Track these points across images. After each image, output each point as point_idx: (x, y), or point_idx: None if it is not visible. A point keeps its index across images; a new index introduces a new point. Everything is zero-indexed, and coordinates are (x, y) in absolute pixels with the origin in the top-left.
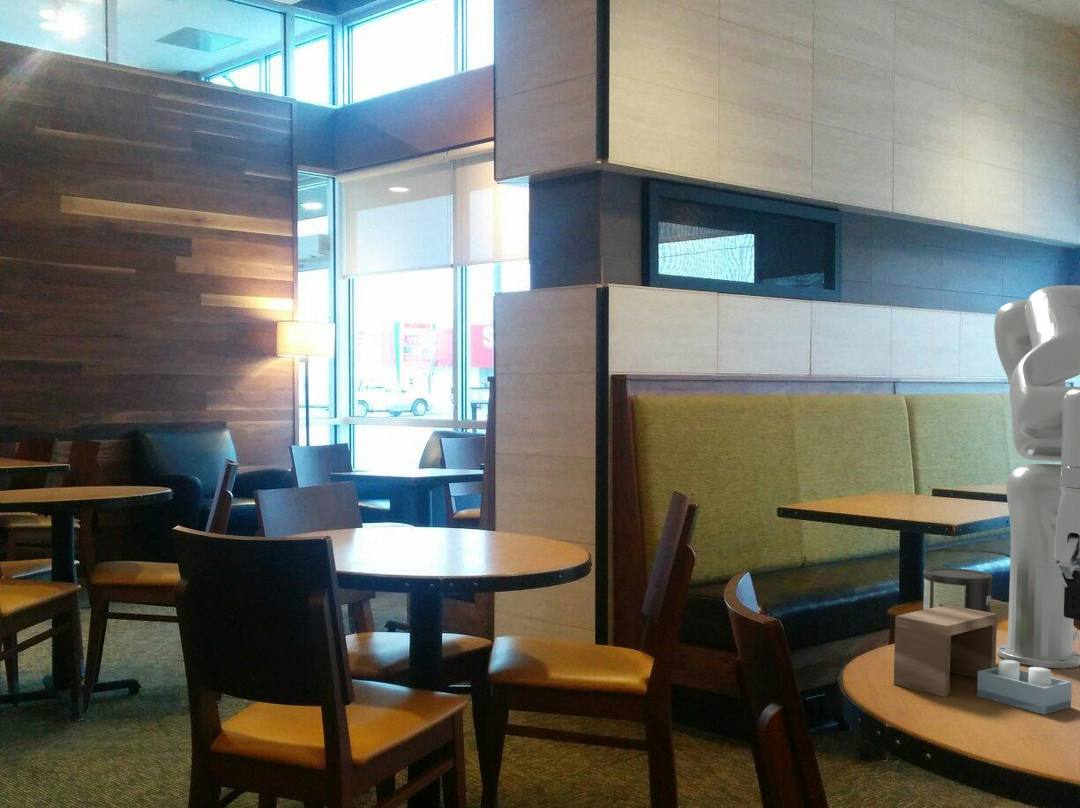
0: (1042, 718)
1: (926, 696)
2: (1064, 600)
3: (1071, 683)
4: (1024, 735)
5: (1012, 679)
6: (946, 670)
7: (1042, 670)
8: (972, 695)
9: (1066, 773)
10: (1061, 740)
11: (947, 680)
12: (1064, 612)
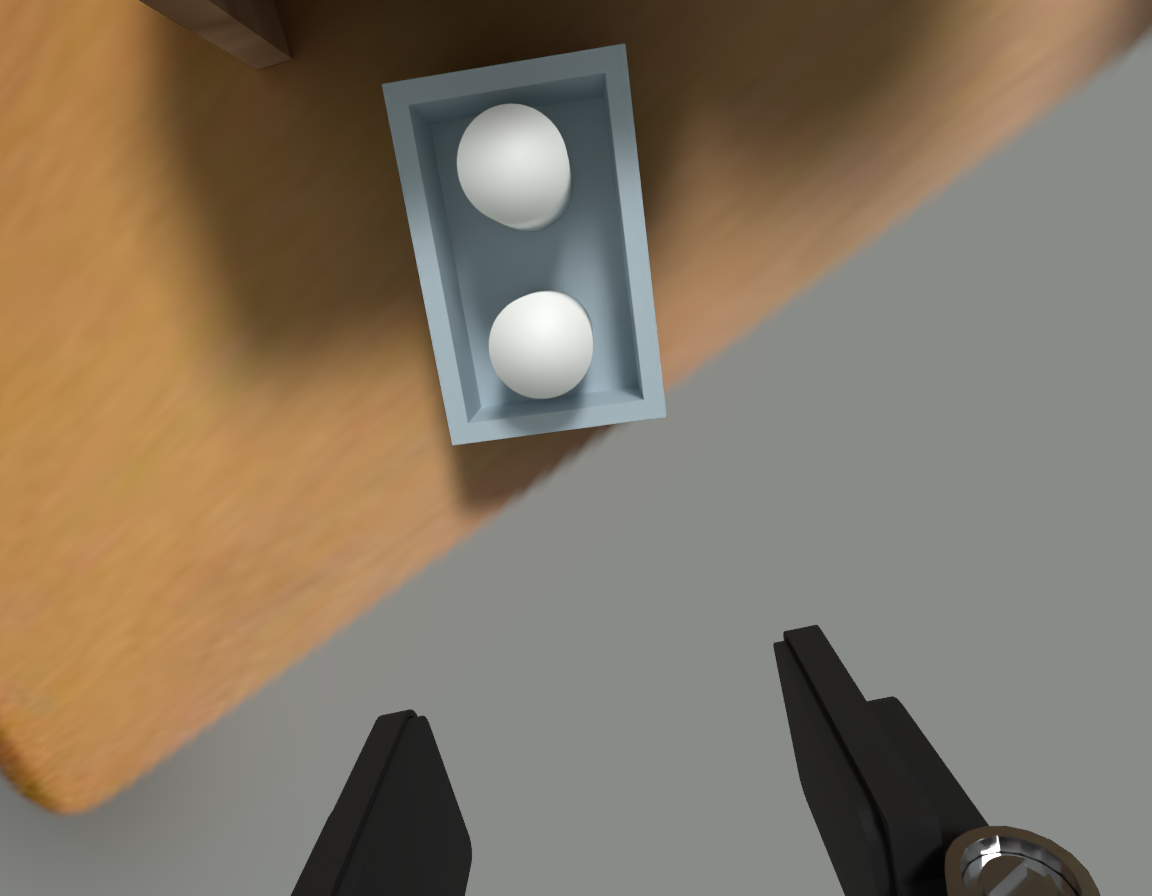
0: (429, 447)
1: None
2: (333, 813)
3: (663, 416)
4: (215, 550)
5: (430, 279)
6: (196, 26)
7: (538, 364)
8: None
9: (89, 797)
10: (296, 626)
11: (239, 40)
12: (372, 736)
